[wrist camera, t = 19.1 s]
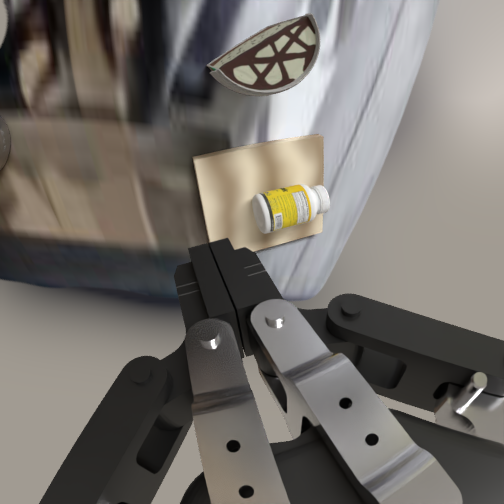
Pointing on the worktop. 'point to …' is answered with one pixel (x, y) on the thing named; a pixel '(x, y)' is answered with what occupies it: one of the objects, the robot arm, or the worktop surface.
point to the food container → (270, 58)
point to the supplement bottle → (289, 206)
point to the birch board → (256, 187)
